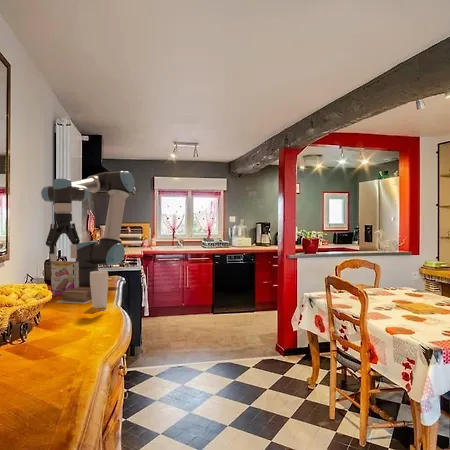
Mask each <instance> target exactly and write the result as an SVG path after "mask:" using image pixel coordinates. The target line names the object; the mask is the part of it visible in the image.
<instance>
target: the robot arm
mask: <svg viewBox="0 0 450 450" xmlns="http://www.w3.org/2000/svg"><path fill="white" fill-rule="evenodd" d="M135 185H136V184H135V178H134V177H133V175H132V173H131V171H130V172H129V171H125V170H121V171H106V172H99V173H97V174H94V175H89V176H88V177H87V178H84V179H80V180H75V181H72V180H71V179H69V178H56V179H54V180H53V185H48V186H43V188H42V189H41V192H40V195H41V199H43V201H45V202H48V203H49V202H50V203H52V202H53V212H54V214H53V221H54V222H55V223H51V224H50V229H49V232H48V235H47V238H46V241H45V245H46V247H48V248H49V257H50V258H49V260H50V261H49V262H55V261H58V254H57V252H58V250H57V249H58V248H57V246H56V245H57V243H58V240H59V239H60V237H61V235H66V236H67V239H68V240H69V242H70V259H75V261H78V262H79V287H81V286H90V272H93V271H100V269H99V266H100V265H101V266H105V265H106V266H116V265H118V264H120V263H121V262H123V260H124V257H125V253H126V251H125V246H124V245H123V244H122V243H123V242H122V240H121V239H120V238H121V237H120V236H121V232H122V231H121V229H122V225H123V218H124V212H125V204H126V199H127V198H129V197H130V193H131V192H133V191H134V190H135V187H136V186H135ZM90 193H93V194H94V193H107V194H108V195H109V200H108V201H109V202H108V206H107V207H108V208H107V213H106V219H105V225H104V230H103V236H102V237H100V238H99V242H98V240H89V241H84V242H83V241H80V237H79V233H78V231H77V228H76V224H75V223H73V222H72V221H73V214H72V212H73V203H72V202H84V201H87V200H88V199H89V197H90ZM71 222H72V223H71Z"/></svg>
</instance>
